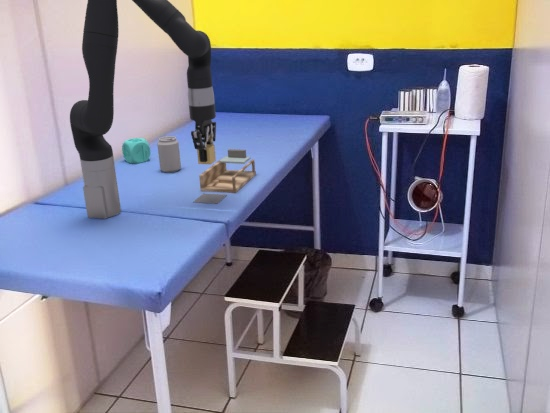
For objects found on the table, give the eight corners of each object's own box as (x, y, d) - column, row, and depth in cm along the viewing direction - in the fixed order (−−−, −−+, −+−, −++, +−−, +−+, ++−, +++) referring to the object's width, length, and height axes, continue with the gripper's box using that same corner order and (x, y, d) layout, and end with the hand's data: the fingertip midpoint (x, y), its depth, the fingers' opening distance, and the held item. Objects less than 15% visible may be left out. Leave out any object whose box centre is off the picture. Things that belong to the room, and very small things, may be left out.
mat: (217, 205, 181) (217, 203, 180) (193, 203, 183) (192, 202, 183) (227, 196, 188) (227, 194, 188) (203, 195, 190) (203, 193, 190)
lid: (244, 163, 200) (243, 154, 199) (219, 162, 202) (218, 153, 201) (250, 158, 206) (250, 149, 205) (226, 157, 208) (225, 148, 207)
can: (177, 173, 214) (173, 140, 210) (157, 173, 215) (153, 140, 211) (184, 167, 221) (180, 135, 217) (164, 167, 222) (161, 135, 218)
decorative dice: (132, 164, 227) (130, 144, 225) (123, 160, 233) (120, 140, 230) (151, 160, 232) (149, 140, 229) (142, 156, 238) (139, 136, 235)
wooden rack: (236, 194, 190) (234, 177, 188) (200, 192, 193) (199, 175, 191) (256, 175, 207) (255, 159, 205) (223, 173, 211) (222, 158, 209)
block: (210, 164, 179) (209, 148, 177) (198, 163, 180) (196, 147, 178) (215, 160, 183) (214, 144, 181) (203, 160, 184) (202, 144, 182)
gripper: (204, 107, 168) (209, 166, 174) (222, 98, 180) (226, 153, 187) (179, 107, 170) (185, 165, 176) (199, 97, 183) (204, 152, 189)
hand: (206, 159), depth 181 cm, fingers closed on block, 4 cm apart
